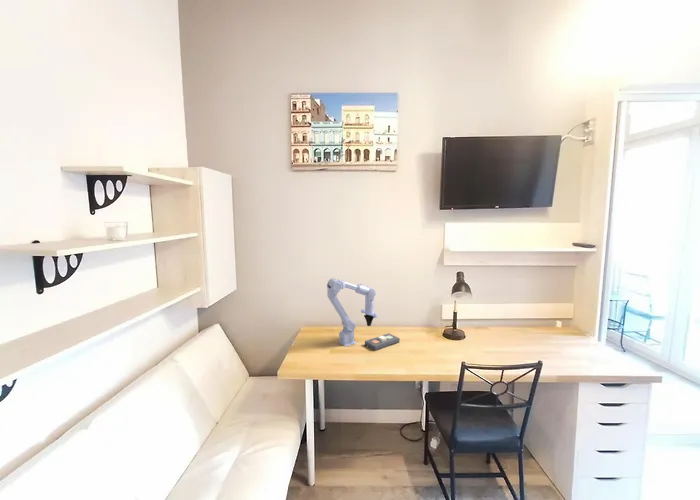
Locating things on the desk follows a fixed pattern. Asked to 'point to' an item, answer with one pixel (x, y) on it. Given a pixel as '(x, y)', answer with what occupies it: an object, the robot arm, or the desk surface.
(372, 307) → the robot arm
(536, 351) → the desk surface
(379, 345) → the keypad
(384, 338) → the cream key
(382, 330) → the desk surface
